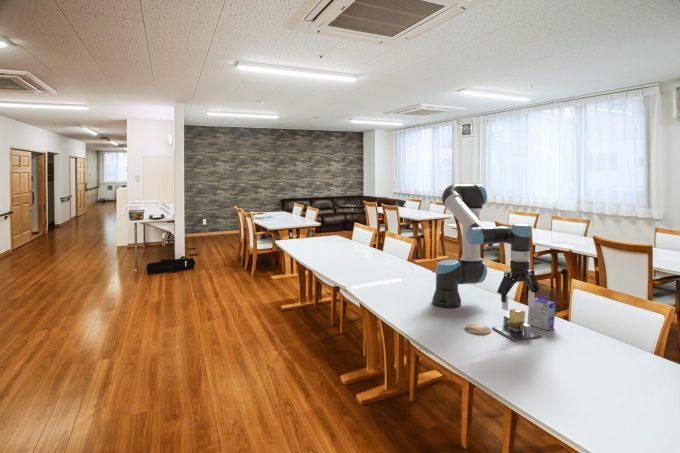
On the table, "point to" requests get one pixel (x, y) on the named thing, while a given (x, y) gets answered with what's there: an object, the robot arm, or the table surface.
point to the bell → (516, 319)
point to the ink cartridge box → (542, 313)
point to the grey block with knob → (516, 331)
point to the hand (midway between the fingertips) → (518, 307)
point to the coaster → (477, 329)
